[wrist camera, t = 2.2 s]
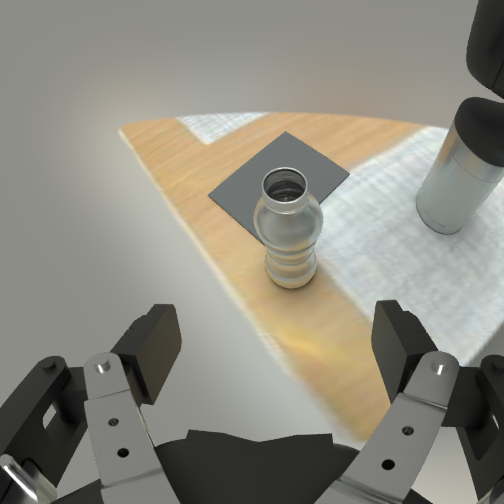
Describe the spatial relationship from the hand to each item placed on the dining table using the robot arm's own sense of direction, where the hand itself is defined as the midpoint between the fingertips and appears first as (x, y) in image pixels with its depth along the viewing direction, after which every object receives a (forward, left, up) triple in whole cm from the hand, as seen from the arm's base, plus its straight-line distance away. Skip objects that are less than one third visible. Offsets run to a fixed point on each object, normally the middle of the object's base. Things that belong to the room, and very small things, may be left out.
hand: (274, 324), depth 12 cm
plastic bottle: (-9, -8, -28) cm, 31 cm away
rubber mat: (-18, -19, -28) cm, 38 cm away
